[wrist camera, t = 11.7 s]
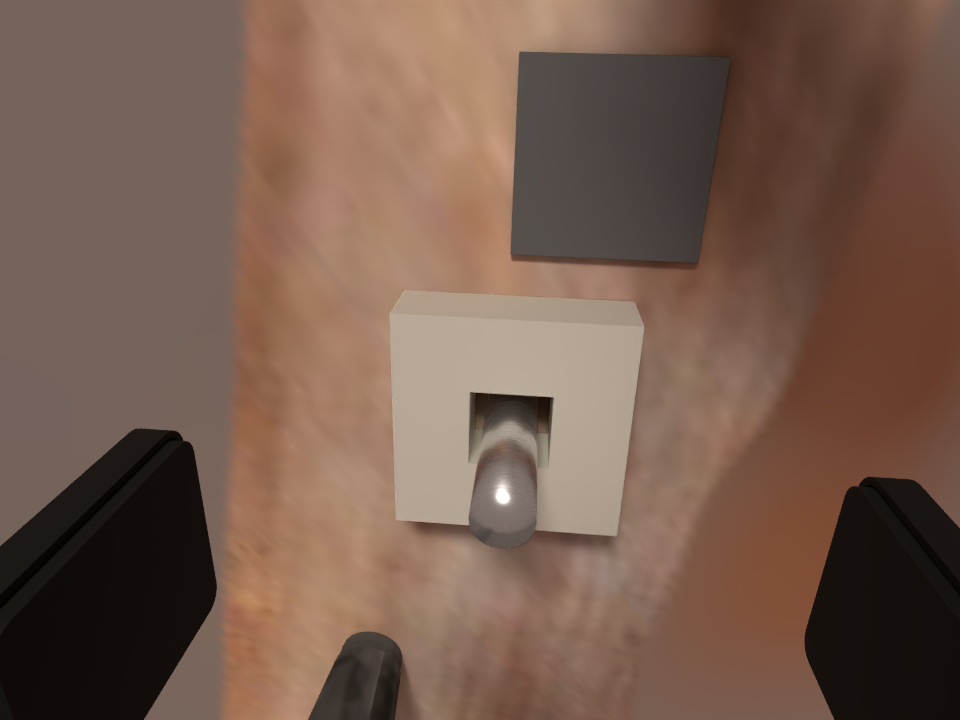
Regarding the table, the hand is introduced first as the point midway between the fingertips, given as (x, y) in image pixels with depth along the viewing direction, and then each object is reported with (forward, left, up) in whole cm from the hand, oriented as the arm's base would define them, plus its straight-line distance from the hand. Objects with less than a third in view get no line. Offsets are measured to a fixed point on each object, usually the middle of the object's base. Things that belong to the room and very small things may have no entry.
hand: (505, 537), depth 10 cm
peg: (+12, -1, -28) cm, 31 cm away
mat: (-2, +4, -28) cm, 29 cm away
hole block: (+12, -1, -28) cm, 31 cm away
